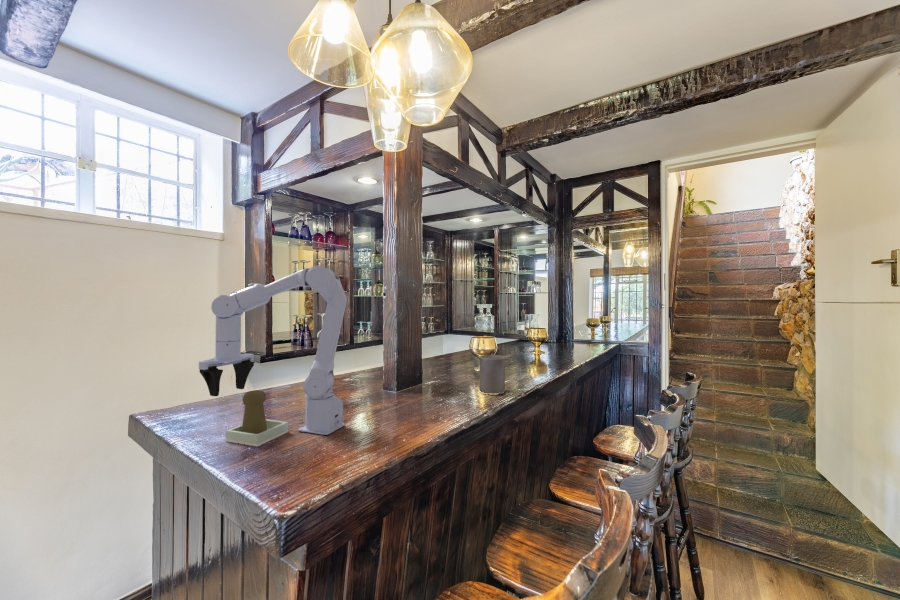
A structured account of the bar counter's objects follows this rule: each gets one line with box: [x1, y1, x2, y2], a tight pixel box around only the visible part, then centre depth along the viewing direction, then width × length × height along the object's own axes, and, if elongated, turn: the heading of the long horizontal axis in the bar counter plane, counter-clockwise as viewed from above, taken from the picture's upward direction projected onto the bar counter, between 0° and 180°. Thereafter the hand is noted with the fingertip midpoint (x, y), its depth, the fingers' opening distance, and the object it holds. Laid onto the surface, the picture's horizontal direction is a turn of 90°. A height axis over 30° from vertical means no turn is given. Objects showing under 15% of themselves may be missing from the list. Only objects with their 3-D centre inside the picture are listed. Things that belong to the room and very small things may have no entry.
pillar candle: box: [478, 352, 506, 393], centre depth 136 cm, size 10×10×15 cm
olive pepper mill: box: [241, 389, 267, 434], centre depth 91 cm, size 6×6×11 cm
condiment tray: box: [225, 418, 289, 448], centre depth 91 cm, size 10×10×3 cm
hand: (227, 392), depth 94 cm, fingers open, 7 cm apart
